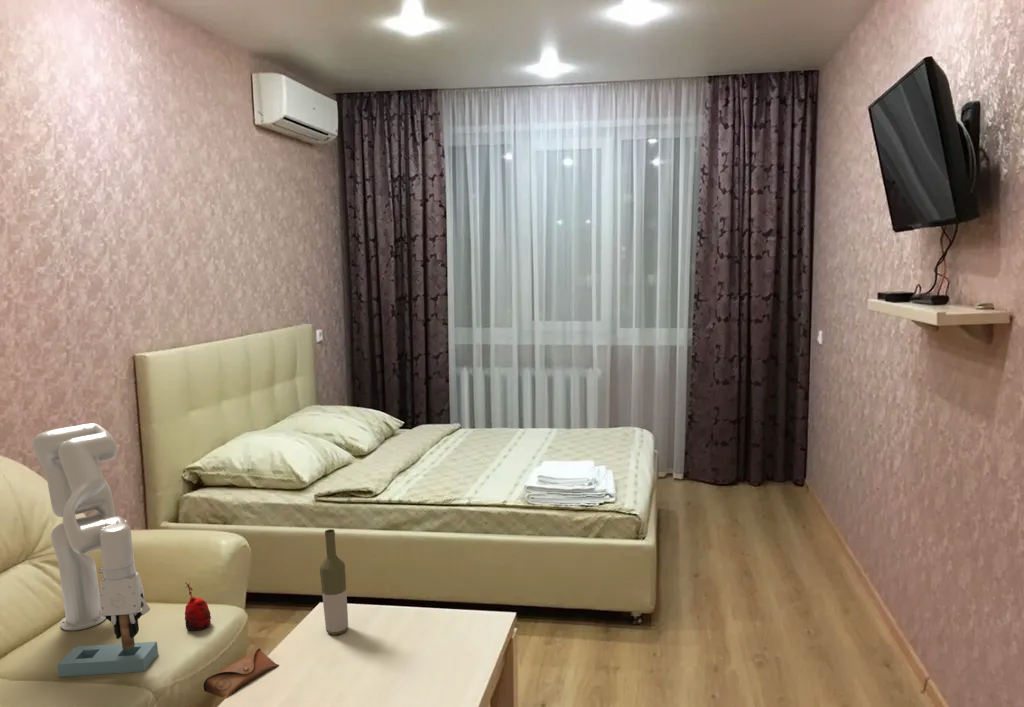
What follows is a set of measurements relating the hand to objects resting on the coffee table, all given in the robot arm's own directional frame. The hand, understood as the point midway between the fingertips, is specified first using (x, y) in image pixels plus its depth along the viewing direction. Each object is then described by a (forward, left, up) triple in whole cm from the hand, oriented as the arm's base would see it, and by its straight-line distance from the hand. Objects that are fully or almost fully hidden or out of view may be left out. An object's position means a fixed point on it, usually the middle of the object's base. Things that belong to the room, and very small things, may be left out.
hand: (127, 635), depth 206 cm
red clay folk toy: (-19, +11, -8) cm, 24 cm away
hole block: (0, -6, -8) cm, 10 cm away
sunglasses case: (+10, +33, -9) cm, 36 cm away
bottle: (-11, +53, -8) cm, 55 cm away
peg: (0, 0, -3) cm, 3 cm away
